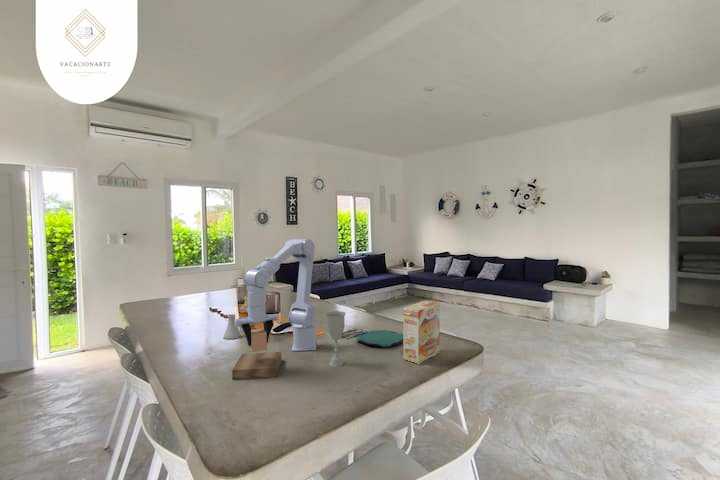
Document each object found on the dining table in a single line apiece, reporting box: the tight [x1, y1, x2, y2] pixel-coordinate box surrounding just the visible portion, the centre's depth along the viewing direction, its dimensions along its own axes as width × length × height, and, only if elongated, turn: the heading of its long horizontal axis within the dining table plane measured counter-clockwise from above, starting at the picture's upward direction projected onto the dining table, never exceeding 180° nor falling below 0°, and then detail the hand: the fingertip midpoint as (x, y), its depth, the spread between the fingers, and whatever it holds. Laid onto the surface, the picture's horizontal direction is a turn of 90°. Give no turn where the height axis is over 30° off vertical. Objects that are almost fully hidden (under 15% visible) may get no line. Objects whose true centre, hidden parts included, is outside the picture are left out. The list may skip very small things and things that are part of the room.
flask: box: [223, 313, 242, 340], centre depth 154 cm, size 7×7×10 cm
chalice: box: [325, 310, 347, 367], centre depth 123 cm, size 7×7×18 cm
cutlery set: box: [340, 328, 403, 348], centre depth 150 cm, size 20×30×2 cm, turn 52°
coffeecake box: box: [402, 300, 441, 365], centre depth 129 cm, size 15×7×20 cm, turn 137°
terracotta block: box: [248, 327, 268, 353], centre depth 119 cm, size 5×5×6 cm
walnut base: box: [231, 351, 282, 380], centre depth 120 cm, size 14×14×3 cm
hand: (257, 343), depth 119 cm, fingers closed on terracotta block, 5 cm apart
